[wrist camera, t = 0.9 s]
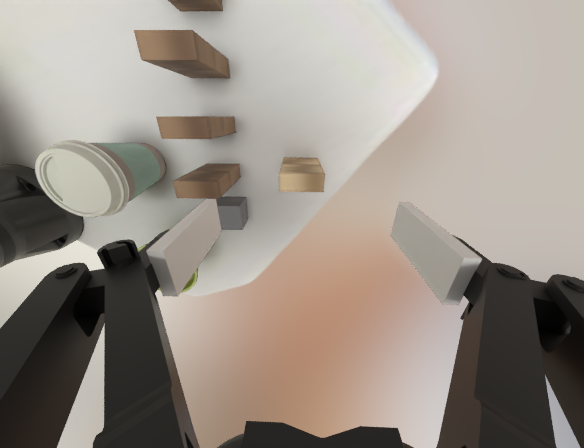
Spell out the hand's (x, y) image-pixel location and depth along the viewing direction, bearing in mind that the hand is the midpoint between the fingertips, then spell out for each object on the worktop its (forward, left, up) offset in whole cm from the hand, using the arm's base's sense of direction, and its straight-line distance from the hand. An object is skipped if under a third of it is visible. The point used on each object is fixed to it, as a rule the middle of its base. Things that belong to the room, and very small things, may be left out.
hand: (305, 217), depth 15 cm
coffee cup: (-24, 0, -19) cm, 31 cm away
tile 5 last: (-12, -1, -19) cm, 22 cm away
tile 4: (-12, +6, -19) cm, 23 cm away
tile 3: (-12, +12, -19) cm, 25 cm away
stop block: (-12, -7, -19) cm, 24 cm away
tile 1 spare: (0, 0, -19) cm, 19 cm away
